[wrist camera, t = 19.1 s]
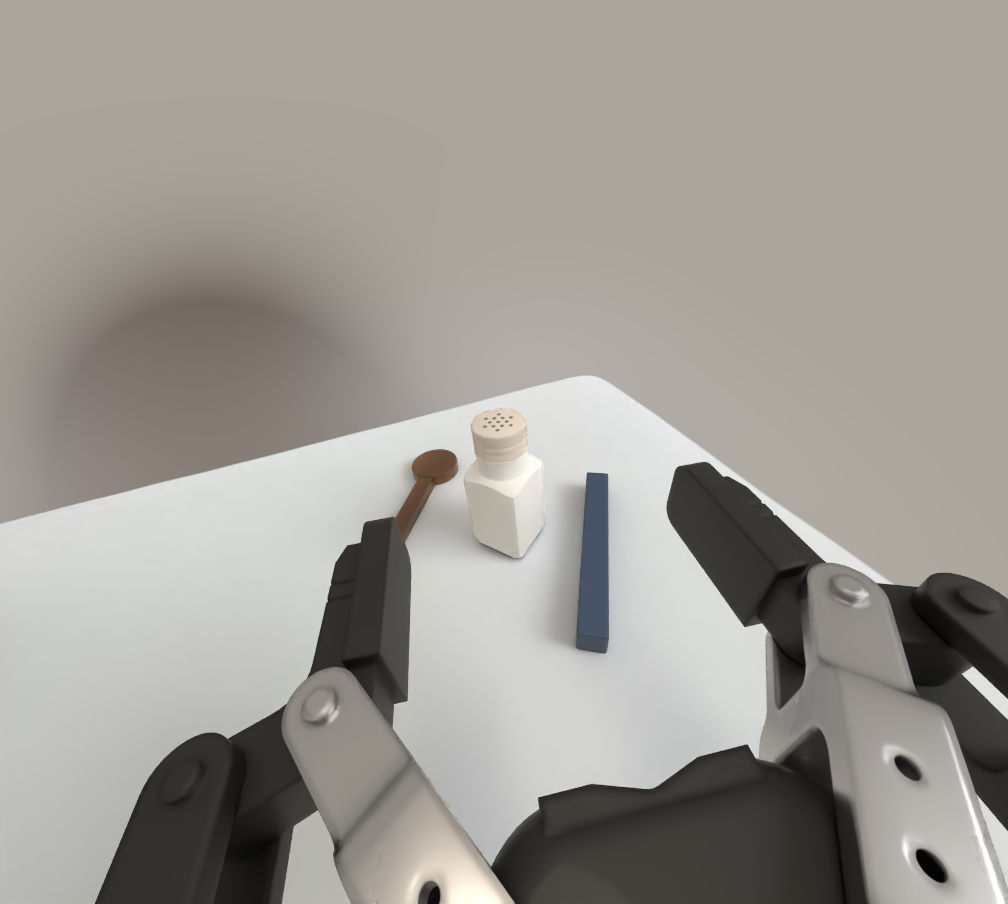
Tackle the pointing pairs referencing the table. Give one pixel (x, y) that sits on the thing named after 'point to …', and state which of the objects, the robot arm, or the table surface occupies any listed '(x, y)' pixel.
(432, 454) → the wooden spoon
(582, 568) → the blue stick
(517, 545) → the salt shaker
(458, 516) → the table surface
